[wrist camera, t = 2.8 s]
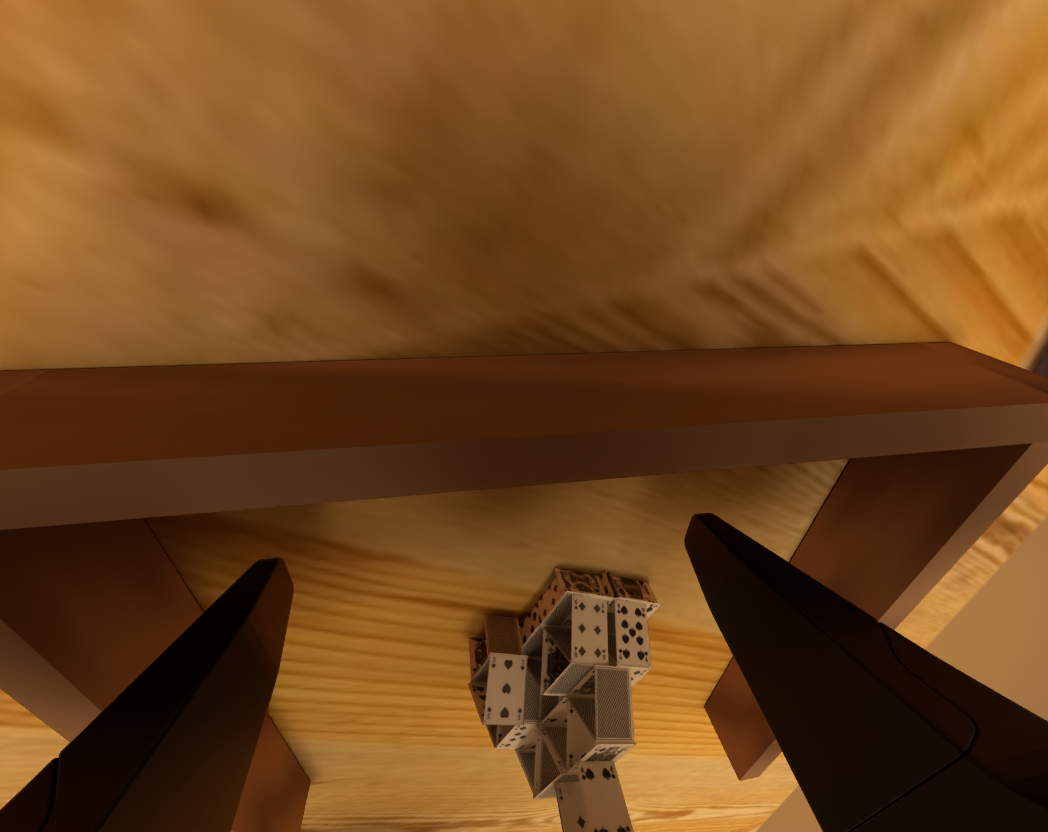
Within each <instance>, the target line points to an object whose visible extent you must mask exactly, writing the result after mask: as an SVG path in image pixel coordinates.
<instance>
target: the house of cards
mask: <svg viewBox="0 0 1048 832" xmlns="http://www.w3.org/2000/svg"><path fill="white" fill-rule="evenodd" d="M554 569H555V573H556V576H557V577H556V578H555V579H554V581H553V582H552V583H551V585H550V586H549V587H548V589H547V590H546V591H545V593H544V594H543V596H542V597H541V598H540V600H539V601H538V602H537V604H536V605H535V607H534V608H533V609H532V611H531V612H530V613H529V615H528V616H527V617H526V619H525V620H524V621H523V623H522V624H521V625H520V627H519V623H518V618H512V617H504V616H496V615H488V614H484V623H485V634H486V640H484V639H474V638H469V652H470V670H471V682H470V683H468V685H469V688H470V691H471V693H472V696H473V699H474V702H475V705H476V708H477V710H478V711H477V712H478V713H479V716H480V719H481V722H482V725H486V726H487V728H488V731H489V734H490V737H491V739H492V742H493V745H494V748H495V749H515V750H514V751H516V753H517V756H518V758H519V760H520V763H521V765H522V768H523V770H524V772H525V775H526V777H527V780H528V782H529V784H530V787H531V789H532V792H533V799H551V798H557V802H558V807H559V813H560V818H561V824H562V830H563V832H634V831H633V828H632V824H631V821H630V817H629V814H628V810H627V807H626V803H625V800H624V796H623V793H622V789H621V786H620V782H619V779H618V775H617V772H616V768H615V765H614V762H616V761H617V760H618V759H619V758H620V757H622V756H623V755H624V754H625V753H626V752H628V751H629V750H630V749H631V748H632V747H633V746H635V745H636V743H635V741H634V728H633V708H632V689H631V688H632V687H633V686H634V685H635V684H636V683H637V682H638V681H639V680H640V679H641V678H642V677H643V676H644V675H645V674H646V673H647V672H648V671H649V670H650V669H651V661H650V647H649V634H648V620H647V619H648V618H649V617H650V616H651V615H652V614H653V613H654V612H655V611H656V610H657V609H658V608H659V607H660V606H661V605H662V604H659V603H657V601H656V598H655V596H654V594H653V592H652V590H651V588H650V586H649V584H648V583H646V582H641V581H635V580H630V579H625V578H619V577H614V576H612V574H611V572H609V574H608V575H607V576H606V573H605V570H604V571H603V572H602V574H601V575H600V576H598V575H592V574H586V573H581V572H575V571H570V570H564V569H559V568H554ZM624 665H626V666H624ZM635 666H637V667H635ZM646 667H648V668H646Z"/></svg>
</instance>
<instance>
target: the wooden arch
mask: <svg viewBox="0 0 1048 832" xmlns="http://www.w3.org/2000/svg"><path fill="white" fill-rule="evenodd" d="M850 458H851V460H850V462H849V463H848V465H847V467H846V468H845V470H844V472H843V474H842V475H841V477H840V479H839V480H838V482H837V484H836V485H835V487H834V489H833V490H832V492H831V494H830V495H829V497H828V499H827V501H826V502H825V504H824V506H823V507H822V509H821V511H820V512H819V514H818V516H817V517H816V519H815V521H814V522H813V524H812V526H811V528H810V529H809V531H808V533H807V534H806V536H805V538H804V539H803V541H802V543H801V544H800V546H799V548H798V549H797V551H796V553H795V555H794V556H793V558H792V560H791V561H790V564H792V565H793V566H795V567H797V568H798V569H800V570H801V571H803V572H804V573H806V574H807V575H809V576H810V577H812V578H814V579H815V580H817V581H818V582H820V583H821V584H823V585H824V586H826V587H828V588H829V589H831V590H832V591H834V592H835V593H837V594H838V595H840V596H842V597H843V598H845V599H846V600H848V601H849V602H851V603H852V604H854V605H855V606H857V607H859V608H860V609H862V610H863V611H865V612H866V613H868V614H869V615H871V616H873V617H874V618H876V619H877V620H878V622H882V623H884V624H885V625H887V626H888V627H890V628H891V629H893V630H895V628H896V627H897V626H898V625H899V624H900V623H901V622H902V621H903V620H904V619H905V618H906V617H907V615H908V614H909V613H910V612H911V611H912V610H913V609H914V608H915V607H916V606H917V605H918V604H919V602H920V601H921V600H922V599H923V598H924V597H925V596H926V595H927V594H928V593H929V592H930V591H931V589H932V588H933V587H934V586H935V585H936V584H937V583H938V582H939V581H940V580H941V579H942V578H943V576H944V575H945V574H946V573H947V572H948V571H949V570H950V569H951V568H952V567H953V566H954V565H955V563H956V562H957V561H958V560H959V559H960V558H961V557H962V556H963V555H964V554H965V553H966V552H967V550H968V549H969V548H970V547H971V546H972V545H973V544H974V543H975V542H976V541H977V540H978V539H979V537H980V536H981V535H982V534H983V533H984V532H985V531H986V530H987V529H988V528H989V527H990V526H991V524H992V523H993V522H994V521H995V520H996V519H997V518H998V517H999V516H1000V515H1001V514H1002V513H1003V511H1004V510H1005V509H1006V508H1007V507H1008V506H1009V505H1010V504H1011V503H1012V502H1013V501H1014V500H1015V498H1016V497H1017V496H1018V495H1019V494H1020V493H1021V492H1022V491H1023V490H1024V489H1025V488H1026V487H1027V485H1028V484H1029V483H1030V482H1031V481H1032V480H1033V479H1034V478H1035V477H1036V476H1037V475H1038V474H1039V472H1040V471H1041V470H1042V469H1043V468H1044V467H1045V466H1046V465H1047V464H1048V378H1047V377H1045V376H1042V375H1039V374H1037V373H1034V372H1031V371H1028V370H1026V369H1023V368H1020V367H1017V366H1015V365H1012V364H1009V363H1007V362H1004V361H1001V360H998V359H996V358H993V357H990V356H987V355H985V354H982V353H979V352H977V351H974V350H971V349H968V348H966V347H963V346H960V345H957V344H955V343H952V342H943V343H910V344H877V345H844V346H811V347H778V348H745V349H712V350H679V351H646V352H613V353H580V354H547V355H514V356H481V357H448V358H415V359H383V360H350V361H317V362H284V363H251V364H218V365H185V366H152V367H119V368H86V369H53V370H20V371H0V689H2V690H3V691H4V692H5V693H7V694H8V695H9V696H11V697H12V698H13V699H14V700H16V701H17V702H18V703H20V704H21V705H22V706H24V707H25V708H26V709H27V710H29V711H30V712H31V713H33V714H34V715H35V716H37V717H38V718H39V719H40V720H42V721H43V722H44V723H46V724H47V725H48V726H50V727H51V728H52V729H53V730H55V731H56V732H57V733H59V734H60V735H61V736H63V737H64V738H65V739H66V740H68V741H69V742H71V741H72V740H73V739H74V738H75V737H76V736H77V735H79V734H80V733H81V732H82V731H83V730H84V729H85V728H86V727H87V726H88V725H89V724H90V723H91V722H92V721H93V720H94V719H95V718H96V717H97V716H98V715H99V714H100V713H101V712H102V711H103V710H104V709H105V708H106V707H107V706H108V705H109V704H110V703H111V702H112V701H113V700H114V699H115V698H117V697H118V696H119V695H120V694H121V693H122V692H123V691H124V690H125V689H126V688H127V687H128V686H129V685H130V684H131V683H132V682H133V681H134V680H135V679H136V678H137V677H138V676H139V675H140V674H141V673H142V672H143V671H144V670H145V669H146V668H147V667H148V666H149V665H150V664H151V663H152V662H153V661H155V660H156V659H157V658H158V657H159V656H160V655H161V654H162V653H163V652H164V651H165V650H166V649H167V648H168V647H169V646H170V645H171V644H172V643H173V642H174V641H175V640H176V639H177V638H178V637H179V636H180V635H181V634H182V633H183V632H184V631H185V630H186V629H187V628H188V627H189V626H190V625H191V624H193V623H194V622H195V621H196V620H197V619H198V618H199V617H200V616H201V615H202V614H203V612H202V610H201V609H200V607H199V605H198V604H197V602H196V601H195V599H194V597H193V596H192V594H191V593H190V591H189V590H188V588H187V586H186V585H185V583H184V582H183V580H182V579H181V577H180V575H179V574H178V572H177V571H176V569H175V568H174V566H173V564H172V563H171V561H170V560H169V558H168V557H167V555H166V553H165V552H164V550H163V549H162V547H161V545H160V544H159V542H158V541H157V539H156V538H155V536H154V534H153V533H152V531H151V530H150V528H149V527H148V525H147V523H146V522H145V520H144V519H143V518H150V517H161V516H173V515H185V514H197V513H209V512H221V511H233V510H245V509H257V508H268V507H280V506H292V505H304V504H316V503H328V502H340V501H352V500H363V499H375V498H387V497H399V496H411V495H423V494H435V493H447V492H458V491H470V490H482V489H494V488H506V487H518V486H530V485H542V484H553V483H565V482H577V481H589V480H601V479H613V478H625V477H637V476H648V475H660V474H672V473H684V472H696V471H708V470H720V469H732V468H743V467H755V466H767V465H779V464H791V463H803V462H815V461H827V460H839V459H850ZM704 708H705V710H706V712H707V714H708V716H709V718H710V720H711V723H712V725H713V727H714V729H715V731H716V733H717V735H718V737H719V739H720V741H721V744H722V746H723V748H724V750H725V752H726V754H727V756H728V758H729V760H730V762H731V764H732V767H733V769H734V771H735V773H736V775H737V777H738V779H739V781H741V780H746V779H750V778H755V777H759V776H760V775H761V774H762V773H763V772H764V770H765V769H766V768H767V767H768V766H769V765H770V764H771V763H772V762H773V761H774V760H775V759H776V757H777V756H778V755H779V754H780V753H781V752H782V750H781V748H780V746H779V744H778V742H777V740H776V738H775V737H774V735H773V733H772V731H771V729H770V727H769V725H768V723H767V721H766V719H765V717H764V715H763V713H762V711H761V709H760V707H759V705H758V703H757V701H756V699H755V697H754V695H753V693H752V691H751V689H750V687H749V685H748V683H747V682H746V680H745V678H744V676H743V674H742V672H741V670H740V668H739V666H738V664H737V662H736V660H735V658H733V659H732V661H731V663H730V664H729V666H728V668H727V669H726V671H725V673H724V674H723V676H722V678H721V680H720V681H719V683H718V685H717V686H716V688H715V690H714V691H713V693H712V695H711V696H710V698H709V700H708V701H707V703H706V705H705V707H704ZM309 786H310V780H309V779H308V777H307V776H306V774H305V772H304V771H303V769H302V768H301V766H300V764H299V763H298V761H297V760H296V758H295V757H294V755H293V753H292V752H291V750H290V749H289V747H288V746H287V744H286V742H285V741H284V739H283V738H282V736H281V735H280V733H279V731H278V730H277V728H276V727H275V725H274V724H273V722H272V720H271V719H270V717H269V716H268V714H267V713H266V716H265V719H264V723H263V726H262V729H261V733H260V736H259V739H258V743H257V746H256V749H255V753H254V756H253V759H252V763H251V766H250V769H249V773H248V776H247V779H246V783H245V786H244V789H243V793H242V796H241V799H240V803H239V806H238V809H237V813H236V816H235V819H234V823H233V826H232V829H231V832H300V829H301V824H302V820H303V815H304V810H305V805H306V800H307V796H308V791H309Z"/></svg>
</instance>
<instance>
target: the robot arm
mask: <svg viewBox="0 0 1048 832" xmlns="http://www.w3.org/2000/svg"><path fill="white" fill-rule="evenodd" d="M684 542H685V547H686V550H687V553H688V555H689V558H690V561H691V563H692V566H693V568H694V571H695V573H696V576H697V578H698V581H699V583H700V586H701V589H702V591H703V594H704V596H705V599H706V601H707V603H708V606H709V608H710V610H711V612H712V614H713V617H714V619H715V621H716V623H717V625H718V627H719V628H720V630H721V632H722V634H723V636H724V638H725V640H726V642H727V644H728V646H729V648H730V650H731V652H732V654H733V656H734V658H735V660H736V662H737V664H738V666H739V668H740V670H741V672H742V674H743V676H744V678H745V680H746V682H747V683H748V685H749V687H750V689H751V691H752V693H753V695H754V697H755V699H756V701H757V703H758V705H759V707H760V709H761V711H762V713H763V715H764V717H765V719H766V721H767V723H768V725H769V727H770V729H771V731H772V733H773V735H774V737H775V738H776V740H777V742H778V744H779V746H780V748H781V750H782V752H783V754H784V756H785V758H786V760H787V762H788V764H789V766H790V768H791V770H792V772H793V774H794V776H795V778H796V780H797V782H798V784H799V786H800V788H801V790H802V791H803V793H804V795H805V797H806V799H807V801H808V803H809V805H810V807H811V809H812V811H813V813H814V815H815V817H816V819H817V821H818V823H819V825H820V827H821V829H822V831H823V832H1048V721H1046V720H1044V719H1043V718H1041V717H1039V716H1037V715H1036V714H1034V713H1032V712H1030V711H1029V710H1027V709H1025V708H1023V707H1022V706H1020V705H1018V704H1016V703H1015V702H1013V701H1011V700H1010V699H1008V698H1006V697H1004V696H1002V695H1001V694H999V693H997V692H996V691H994V690H992V689H990V688H989V687H987V686H985V685H983V684H982V683H980V682H978V681H976V680H975V679H973V678H971V677H970V676H968V675H966V674H965V673H963V672H961V671H959V670H958V669H956V668H954V667H953V666H951V665H949V664H948V663H946V662H944V661H942V660H941V659H939V658H938V657H936V656H934V655H933V654H931V653H929V652H928V651H926V650H925V649H923V648H921V647H920V646H918V645H917V644H915V643H913V642H912V641H910V640H909V639H907V638H905V637H904V636H902V635H901V634H899V633H898V632H896V631H894V630H893V629H891V628H890V627H888V626H887V625H885V624H884V623H882V622H878V620H877V619H876V618H874V617H873V616H871V615H869V614H868V613H866V612H865V611H863V610H862V609H860V608H859V607H857V606H855V605H854V604H852V603H851V602H849V601H848V600H846V599H845V598H843V597H842V596H840V595H838V594H837V593H835V592H834V591H832V590H831V589H829V588H828V587H826V586H824V585H823V584H821V583H820V582H818V581H817V580H815V579H814V578H812V577H810V576H809V575H807V574H806V573H804V572H803V571H801V570H800V569H798V568H797V567H795V566H793V565H792V564H790V563H789V562H787V561H786V560H784V559H783V558H781V557H779V556H778V555H776V554H775V553H773V552H772V551H770V550H769V549H767V548H765V547H764V546H762V545H761V544H759V543H758V542H756V541H755V540H753V539H751V538H750V537H748V536H747V535H745V534H744V533H742V532H741V531H739V530H738V529H736V528H734V527H733V526H731V525H730V524H728V523H727V522H725V521H724V520H722V519H720V518H719V517H717V516H716V515H714V514H712V513H701V514H695V515H694V516H693V517H692V518H691V521H690V524H689V527H688V529H687V532H686V535H685V540H684ZM292 598H293V582H292V579H291V577H290V574H289V572H288V569H287V567H286V564H285V562H284V560H283V559H282V558H279V557H277V558H267V559H260V560H258V561H257V562H255V563H254V564H253V565H252V566H251V567H250V568H249V569H248V570H247V571H246V572H245V573H244V574H243V575H242V576H241V577H240V578H239V579H238V580H237V581H236V582H235V583H234V584H233V585H232V586H230V587H229V588H228V589H227V590H226V591H225V592H224V593H223V594H222V595H221V596H220V597H219V598H218V599H217V600H216V601H215V602H214V603H213V604H212V605H211V606H210V607H209V608H208V609H207V610H206V611H205V612H204V613H203V614H202V615H201V616H200V617H199V618H198V619H197V620H196V621H195V622H194V623H193V624H191V625H190V626H189V627H188V628H187V629H186V630H185V631H184V632H183V633H182V634H181V635H180V636H179V637H178V638H177V639H176V640H175V641H174V642H173V643H172V644H171V645H170V646H169V647H168V648H167V649H166V650H165V651H164V652H163V653H162V654H161V655H160V656H159V657H158V658H157V659H156V660H155V661H153V662H152V663H151V664H150V665H149V666H148V667H147V668H146V669H145V670H144V671H143V672H142V673H141V674H140V675H139V676H138V677H137V678H136V679H135V680H134V681H133V682H132V683H131V684H130V685H129V686H128V687H127V688H126V689H125V690H124V691H123V692H122V693H121V694H120V695H119V696H118V697H117V698H115V699H114V700H113V701H112V702H111V703H110V704H109V705H108V706H107V707H106V708H105V709H104V710H103V711H102V712H101V713H100V714H99V715H98V716H97V717H96V718H95V719H94V720H93V721H92V722H91V723H90V724H89V725H88V726H87V727H86V728H85V729H84V730H83V731H82V732H81V733H80V734H79V735H77V736H76V737H75V738H74V739H73V740H72V741H71V742H70V743H69V744H68V745H67V746H66V747H65V748H64V749H63V750H62V751H61V752H60V754H59V758H55V759H53V760H52V761H51V762H50V763H48V764H47V765H46V766H45V767H44V768H43V769H42V770H41V771H40V772H39V773H38V774H37V775H36V776H35V777H34V778H33V779H32V780H31V781H30V782H29V783H28V784H27V785H26V786H25V787H24V788H23V789H22V790H21V791H20V792H19V793H18V794H16V795H15V796H14V797H13V798H12V799H11V800H10V801H9V802H8V803H7V804H6V805H5V806H4V807H3V808H2V809H1V810H0V832H231V829H232V826H233V823H234V819H235V816H236V813H237V809H238V806H239V803H240V799H241V796H242V793H243V789H244V786H245V783H246V779H247V776H248V773H249V769H250V766H251V763H252V759H253V756H254V753H255V749H256V746H257V743H258V739H259V736H260V733H261V729H262V726H263V723H264V719H265V716H266V713H267V709H268V706H269V703H270V699H271V696H272V693H273V689H274V686H275V682H276V679H277V675H278V671H279V666H280V662H281V657H282V651H283V646H284V641H285V635H286V630H287V624H288V619H289V614H290V608H291V603H292Z"/></svg>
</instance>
